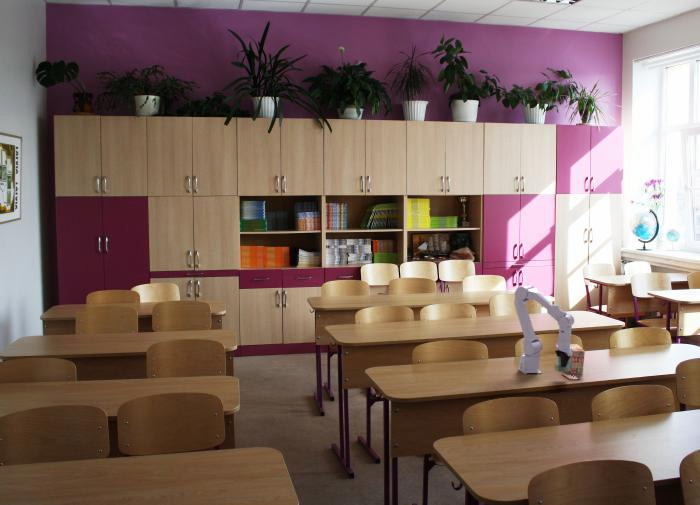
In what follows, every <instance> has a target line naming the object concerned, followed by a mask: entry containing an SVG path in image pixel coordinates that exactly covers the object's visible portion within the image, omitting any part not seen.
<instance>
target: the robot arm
mask: <svg viewBox="0 0 700 505" xmlns="http://www.w3.org/2000/svg"><path fill="white" fill-rule="evenodd" d="M530 300H532V301H533V300H534V301H535V302H536V303H538V304H539V305H541V307H543V308H544V309H546V312H547V314H548V315H549V316H551V318H553V320H555V321H556V322H557V325H558V327H559V328H558V329H559V330H558V340H557V343H555V344H554V348H555V349H556V350H554V351H555V352H554V353H555V355H556V356H560V357H561V367H566V365H567V363H568V360H569V359H570V357H571V356H572V354H573V352H572V351H571V350H572V348H571V347H570V344H571V339H572V330H573V328H572V326H573V325H574V323H575V319H574V316H573V315H572V314H569V313H567V312H566V311H564V310H562V309H561V308H560V305H559V304H555V303H554V304H552V303H551V302H550V301H549V300H548V299H547V298H546V297H545V296H544V295H543V294H542V293H541V292H539V290H538V288H536V287H534V286H533V285H532V284H527V285H523V286H519V287H517V288H516V289H515V291H514V307H515V311H516V314H517V317H518V321H519V324H520V327H521V330H522V335H523V337H524V338H523V341H522V346H523V347H522V349H523V350H522V351H523V352H524V354H521V355H520V356H519V362H518V363H519V364H518V366H519V367H518V370H519V371H520V372H521V373H522V374H524V375H526V374H527V373H537V374H543V373H542V371H540V357H541V356H540V355H541V352H542V351H543V349H544V348H543V347H544V346H543V343H542V342H541V341H540V338H539V337H538V335H537V334H536V333H535V330H534V327H533V324H532V321H531V317H530V315H529V314H530V313H529V310H528V307H527V304H528V302H529V301H530Z"/></svg>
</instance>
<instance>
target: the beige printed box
mask: <svg viewBox="0 0 700 505" xmlns="http://www.w3.org/2000/svg"><path fill="white" fill-rule="evenodd" d="M570 347H571V348H572V350H571V351H572V352H573V354H572V356H571V357H570V360H569V371H570V372H571V373H570V372H569V371H568V372H569V373H570V374H573V373H584V362H585V352H586V351H585V349H583V347H581V346H580V345H579V344H577V343H570Z"/></svg>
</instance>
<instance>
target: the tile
mask: <svg viewBox="0 0 700 505" xmlns="http://www.w3.org/2000/svg"><path fill="white" fill-rule="evenodd" d="M569 360H570V359H569ZM569 360H568V363H567V365H566V367H561V357H560V356H557V355H556V356H555V363H554V364H555V365H554V371H556V372H559V373H560V372H569Z"/></svg>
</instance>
